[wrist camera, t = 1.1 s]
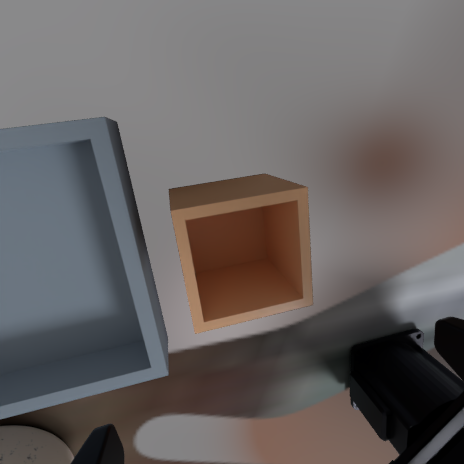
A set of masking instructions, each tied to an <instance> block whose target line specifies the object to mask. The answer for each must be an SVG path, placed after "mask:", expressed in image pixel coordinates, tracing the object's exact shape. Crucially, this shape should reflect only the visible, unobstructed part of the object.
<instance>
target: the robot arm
mask: <svg viewBox="0 0 464 464" xmlns="http://www.w3.org/2000/svg"><path fill="white" fill-rule="evenodd" d="M423 340H424V333H423V332H422V331H421V330H419V329H413V330H409V331H405V332H402V333H398V334H394V335H391V336H387V337H383V338H380V339H376V340H373V341H369V342H365V343H362V344H358V345H355V346H354V347H352V349H351V372H350V397H351V405H352V406H353V408H354V409H355V410H360V411H361V412H362V414H363V415H364V417H365V418H366V419H367V421H368V422H369V423H370V425H371V426H372V428H373V429H374V430H375V432H376V433H377V435H378V436H379V437H380V438H381V439H382V440H383V441H387V440H389V441H390V443H391V444H392V445H393V447H394V448H395V449H396V450H397V452H398V453H399V456H398V457H397V458H396V459H395V460H394V461H393V460H392V461H391V462H390V463H389V464H464V320H463V319H459V318H455V317H446V318H443V319H440V320H438V321H437V322H436V323H435V337H434V345H435V348H436V350H437V352H438V353H439V354H440V355H441V356H442V357H443V359H444V360H445V361H446V362H447V363H448V364H449V365H450V367H451V368H452V369H453V370H454V371H455V372H456V373H457V375H458V376H459V377H460V378H461V379H462V380H463V381H462V380H461V379H460V378H459V377H457V376H456V375H455V374H454V373H452V372H451V371H450V370H449V369H447V368H446V367H445V366H444V365H442V364H441V363H440V362H438V361H437V360H436V359H435V358H434V357H432V356H431V355H430V354H428V353H427V352H426V351H425V350H424V349H423ZM70 464H124V449H123V446H122V443H121V441H120V438H119V436H118V434H117V431H116V429H115V427H114V425H113V424H107V425H104V426H101V427H98V428H96V429H94V430H93V431H92V433H91V434H90V435H89V437H88V438H87V440H86V441H85V443H84V444H83V446H82V447H81V449H80V450H79V452H78V453H77V455H76V456H75V457H74V459H73V460H72V462H71V463H70Z"/></svg>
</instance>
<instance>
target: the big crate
mask: <svg viewBox="0 0 464 464" xmlns="http://www.w3.org/2000/svg"><path fill="white" fill-rule="evenodd" d="M167 375H168V337H167V332H166V328H165V324H164V320H163V315H162V311H161V307H160V303H159V298H158V294H157V290H156V285H155V281H154V277H153V273H152V269H151V264H150V260H149V256H148V252H147V247H146V243H145V239H144V235H143V230H142V226H141V222H140V218H139V213H138V209H137V205H136V201H135V196H134V192H133V188H132V184H131V179H130V176H129V171H128V167H127V162H126V158H125V154H124V150H123V145H122V141H121V137H120V133H119V128H118V124H117V122H116V121H113V120H111V119H108V118H106V117H99V118H92V119H82V120H74V121H65V122H57V123H49V124H40V125H32V126H23V127H14V128H6V129H0V419H4V418H8V417H12V416H15V415H19V414H23V413H27V412H31V411H34V410H38V409H42V408H46V407H50V406H53V405H57V404H61V403H65V402H69V401H72V400H76V399H80V398H84V397H88V396H91V395H95V394H99V393H103V392H107V391H110V390H114V389H118V388H122V387H126V386H129V385H133V384H137V383H141V382H145V381H148V380H152V379H156V378H160V377H164V376H167Z"/></svg>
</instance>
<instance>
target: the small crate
mask: <svg viewBox="0 0 464 464" xmlns="http://www.w3.org/2000/svg"><path fill="white" fill-rule="evenodd" d="M169 197H170V210H171V215H172V220H173V225H174V230H175V236H176V241H177V245H178V251H179V255H180V261H181V265H182V271H183V276H184V280H185V286H186V290H187V296H188V301H189V306H190V311H191V315H192V320H193V326H194V331H195V334H197V333H201V332H204V331H209V330H213V329H217V328H221V327H225V326H230V325H233V324H238V323H241V322H246V321H250V320H254V319H258V318H262V317H266V316H270V315H275V314H279V313H283V312H287V311H291V310H295V309H299V308H303V307H307V306H311V305H313V289H312V269H311V247H310V228H309V227H310V226H309V207H308V188H307V187H306V186H303V185H299V184H296V183H293V182H290V181H287V180H284V179H280V178H277V177H274V176H271V175H268V174H259V175H252V176H246V177H240V178H234V179H228V180H221V181H215V182H209V183H203V184H196V185H190V186H184V187H178V188H172V189H169Z"/></svg>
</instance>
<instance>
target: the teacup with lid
mask: <svg viewBox="0 0 464 464" xmlns="http://www.w3.org/2000/svg"><path fill="white" fill-rule="evenodd" d="M73 459H74V456H73V454H72V452H71V450H70V449H69V447H68V446H67V445H66V444H65V443H64V442H63V441H62V440H61V439H59V438H58V437H56V436H55V435H53V434H51V433H49V432H47V431H44V430H41V429H38V428H34V427H28V426H18V425H8V426H0V464H70V463H71V462H72V460H73Z"/></svg>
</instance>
